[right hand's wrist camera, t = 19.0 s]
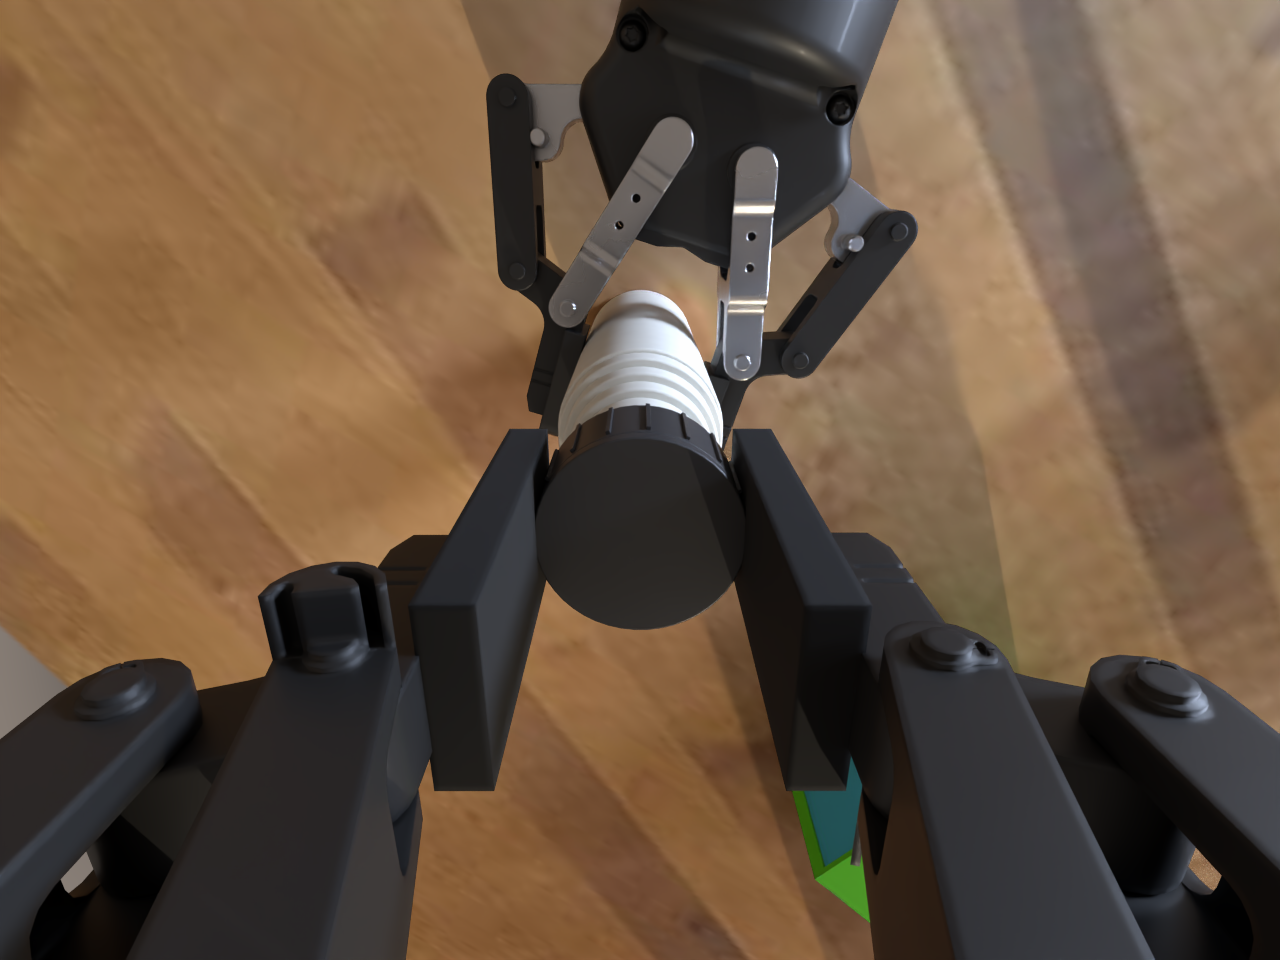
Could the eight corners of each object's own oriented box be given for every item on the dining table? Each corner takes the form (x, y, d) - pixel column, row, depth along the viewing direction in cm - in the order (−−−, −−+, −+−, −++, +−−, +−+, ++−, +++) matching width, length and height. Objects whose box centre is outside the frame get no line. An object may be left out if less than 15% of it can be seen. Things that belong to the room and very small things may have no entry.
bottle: (610, 403, 31) (573, 651, 14) (575, 310, 29) (485, 459, 12) (703, 371, 30) (784, 588, 13) (672, 275, 29) (718, 379, 12)
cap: (776, 486, 14) (797, 530, 12) (649, 610, 15) (650, 669, 13) (631, 361, 13) (630, 387, 11) (507, 503, 14) (486, 549, 12)
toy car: (907, 848, 40) (987, 1041, 31) (755, 718, 37) (794, 892, 28) (1059, 751, 38) (1196, 930, 28) (911, 601, 34) (1012, 749, 25)
